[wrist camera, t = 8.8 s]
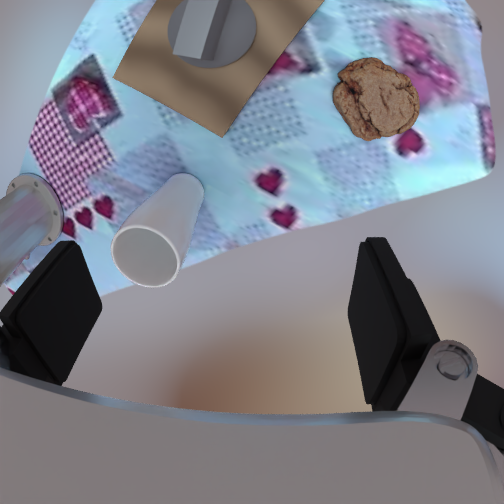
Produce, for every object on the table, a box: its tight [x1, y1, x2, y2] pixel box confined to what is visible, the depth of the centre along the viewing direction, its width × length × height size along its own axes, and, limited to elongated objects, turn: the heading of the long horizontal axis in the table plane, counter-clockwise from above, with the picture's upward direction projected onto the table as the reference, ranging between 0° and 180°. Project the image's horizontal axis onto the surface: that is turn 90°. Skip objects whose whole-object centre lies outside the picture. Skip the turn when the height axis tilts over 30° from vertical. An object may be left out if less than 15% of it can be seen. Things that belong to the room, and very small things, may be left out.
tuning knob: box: [167, 0, 256, 68], centre depth 22 cm, size 11×9×7 cm
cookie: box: [333, 57, 420, 141], centre depth 30 cm, size 10×11×3 cm
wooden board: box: [113, 0, 324, 138], centre depth 27 cm, size 20×15×2 cm
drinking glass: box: [111, 173, 204, 288], centre depth 32 cm, size 7×7×15 cm
